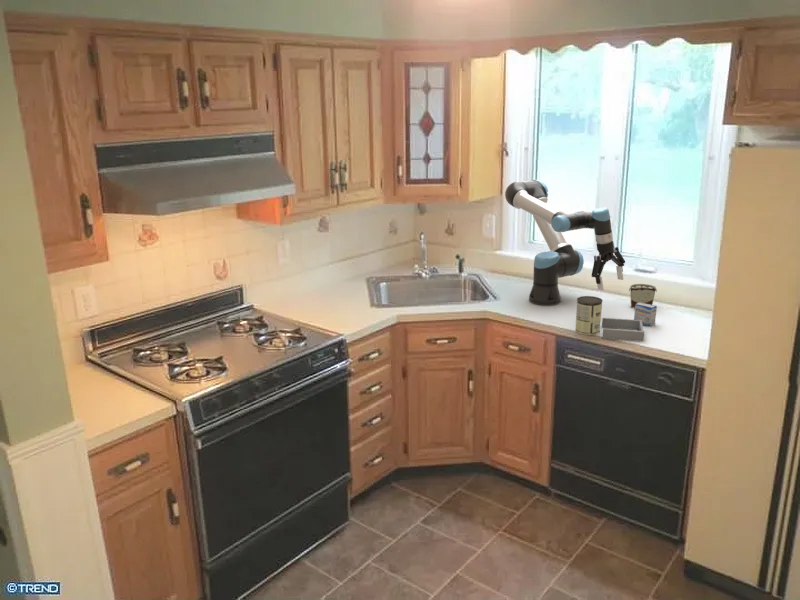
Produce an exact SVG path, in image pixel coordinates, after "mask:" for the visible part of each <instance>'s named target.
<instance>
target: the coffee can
mask: <svg viewBox="0 0 800 600" xmlns="http://www.w3.org/2000/svg"><path fill="white" fill-rule="evenodd" d="M602 305H603V299H602V298H600V297H597V296H591V295H585V296H582V295H581V296H578V297H577V298H576V312H575V315H576V316H575V332H576V333H578V334H580V335H585V336H595V335H598V334H600V332H601V323H602V322H601V321H602V307H603V306H602Z"/></svg>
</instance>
